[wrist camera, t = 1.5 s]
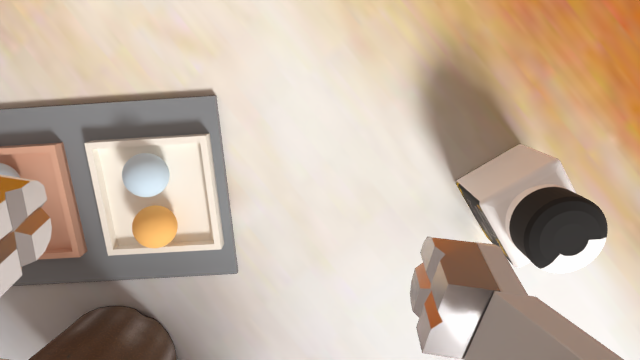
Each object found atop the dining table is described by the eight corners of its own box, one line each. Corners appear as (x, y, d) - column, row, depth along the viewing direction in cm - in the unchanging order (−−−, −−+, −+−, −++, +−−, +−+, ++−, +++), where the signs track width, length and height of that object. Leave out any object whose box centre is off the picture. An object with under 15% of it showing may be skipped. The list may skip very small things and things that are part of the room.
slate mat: (238, 270, 44) (237, 273, 44) (-16, 284, 45) (-20, 287, 45) (216, 95, 40) (214, 95, 39) (-67, 113, 40) (-73, 114, 40)
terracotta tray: (87, 251, 43) (79, 257, 42) (-21, 257, 44) (-32, 263, 42) (63, 142, 40) (54, 145, 39) (-53, 149, 41) (-66, 152, 39)
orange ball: (186, 236, 42) (172, 254, 39) (146, 239, 43) (128, 256, 39) (180, 198, 41) (165, 212, 38) (139, 201, 41) (120, 215, 38)
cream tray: (224, 243, 43) (221, 249, 42) (114, 249, 43) (107, 255, 42) (209, 133, 40) (205, 135, 39) (92, 140, 40) (84, 143, 39)
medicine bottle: (453, 180, 42) (503, 225, 30) (520, 142, 41) (598, 172, 29) (486, 238, 43) (546, 301, 32) (551, 202, 42) (637, 254, 31)
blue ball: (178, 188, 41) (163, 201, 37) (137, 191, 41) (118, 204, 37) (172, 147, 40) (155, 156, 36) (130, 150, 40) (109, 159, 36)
